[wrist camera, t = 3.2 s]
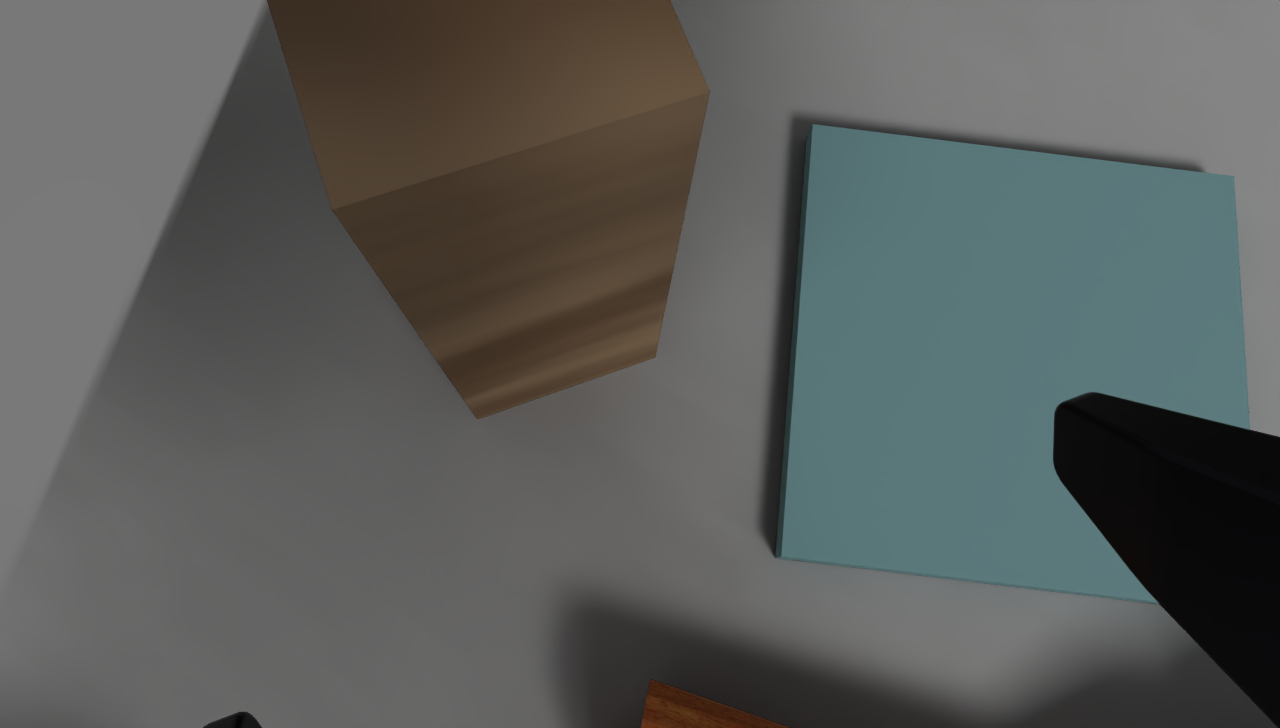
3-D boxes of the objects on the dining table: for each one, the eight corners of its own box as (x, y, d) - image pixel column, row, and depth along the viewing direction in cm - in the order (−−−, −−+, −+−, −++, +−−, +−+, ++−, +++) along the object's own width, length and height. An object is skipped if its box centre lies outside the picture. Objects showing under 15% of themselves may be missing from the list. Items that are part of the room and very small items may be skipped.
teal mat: (1239, 614, 23) (1261, 614, 22) (775, 557, 23) (781, 556, 22) (1215, 188, 26) (1233, 176, 25) (806, 138, 26) (812, 124, 25)
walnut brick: (654, 357, 24) (710, 91, 12) (477, 419, 24) (331, 209, 11) (592, 196, 25) (581, -204, 13) (421, 251, 25) (232, -111, 12)
